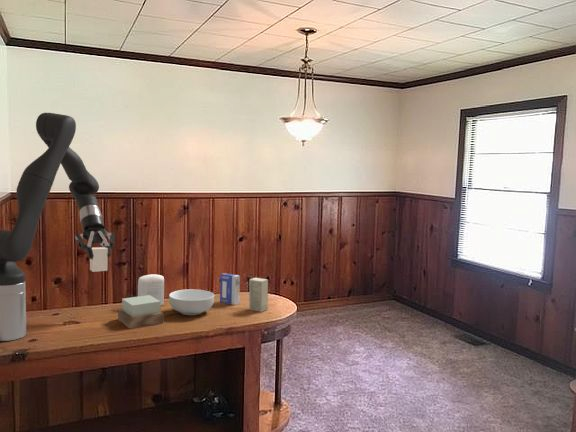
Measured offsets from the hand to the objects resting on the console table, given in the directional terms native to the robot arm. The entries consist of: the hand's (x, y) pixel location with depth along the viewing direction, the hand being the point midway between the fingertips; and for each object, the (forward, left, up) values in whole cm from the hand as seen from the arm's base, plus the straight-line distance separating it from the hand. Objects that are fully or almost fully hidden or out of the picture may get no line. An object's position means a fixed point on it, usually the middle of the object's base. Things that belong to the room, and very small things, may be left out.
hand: (100, 257), depth 172 cm
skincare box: (+55, -18, -22) cm, 62 cm away
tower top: (+11, -10, -18) cm, 24 cm away
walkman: (+50, -4, -22) cm, 55 cm away
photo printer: (+21, +7, -22) cm, 31 cm away
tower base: (+11, -10, -22) cm, 27 cm away
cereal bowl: (+31, -9, -22) cm, 39 cm away
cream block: (0, +2, -5) cm, 5 cm away
